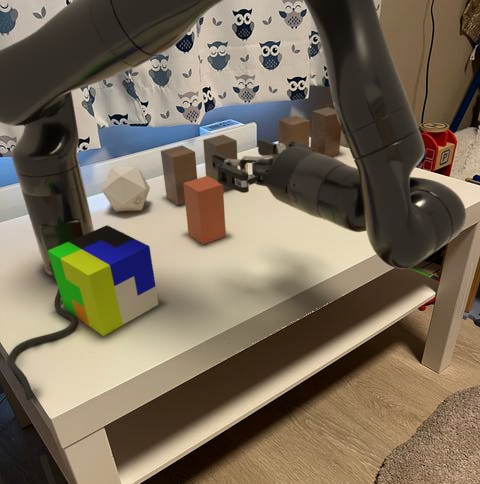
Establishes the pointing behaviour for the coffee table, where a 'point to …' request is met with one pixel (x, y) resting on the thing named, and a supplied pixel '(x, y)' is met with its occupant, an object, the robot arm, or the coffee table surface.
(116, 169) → the die
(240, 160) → the robot arm
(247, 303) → the coffee table surface
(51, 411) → the coffee table surface
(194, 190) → the red block
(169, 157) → the block line
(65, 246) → the puzzle toy
